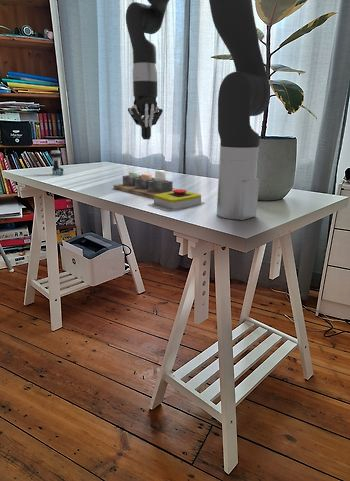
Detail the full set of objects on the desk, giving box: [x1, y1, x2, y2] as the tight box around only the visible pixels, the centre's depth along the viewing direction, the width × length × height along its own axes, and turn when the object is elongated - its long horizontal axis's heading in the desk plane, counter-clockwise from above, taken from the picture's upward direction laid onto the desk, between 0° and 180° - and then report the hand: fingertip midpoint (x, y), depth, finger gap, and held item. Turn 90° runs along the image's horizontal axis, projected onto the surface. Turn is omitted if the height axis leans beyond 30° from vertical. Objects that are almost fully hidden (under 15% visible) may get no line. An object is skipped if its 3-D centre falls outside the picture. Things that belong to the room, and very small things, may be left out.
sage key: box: [128, 171, 140, 177], centre depth 120 cm, size 3×3×4 cm
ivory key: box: [154, 169, 167, 183], centre depth 109 cm, size 3×3×4 cm
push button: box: [48, 150, 64, 176], centre depth 145 cm, size 7×5×10 cm
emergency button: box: [147, 188, 205, 212], centre depth 98 cm, size 9×4×15 cm
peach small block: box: [140, 173, 153, 180], centre depth 115 cm, size 3×3×4 cm
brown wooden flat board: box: [113, 174, 177, 200], centre depth 115 cm, size 22×12×4 cm, turn 44°
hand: (146, 139), depth 110 cm, fingers closed
